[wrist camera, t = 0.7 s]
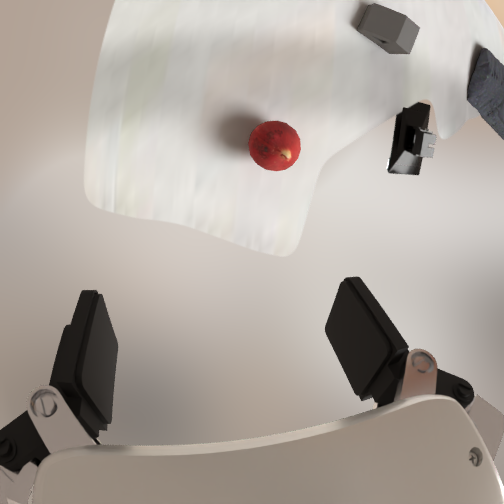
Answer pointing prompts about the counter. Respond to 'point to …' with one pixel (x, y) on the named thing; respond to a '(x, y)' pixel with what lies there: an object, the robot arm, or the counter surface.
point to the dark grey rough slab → (488, 90)
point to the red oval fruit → (274, 145)
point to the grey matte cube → (389, 29)
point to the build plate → (411, 140)
